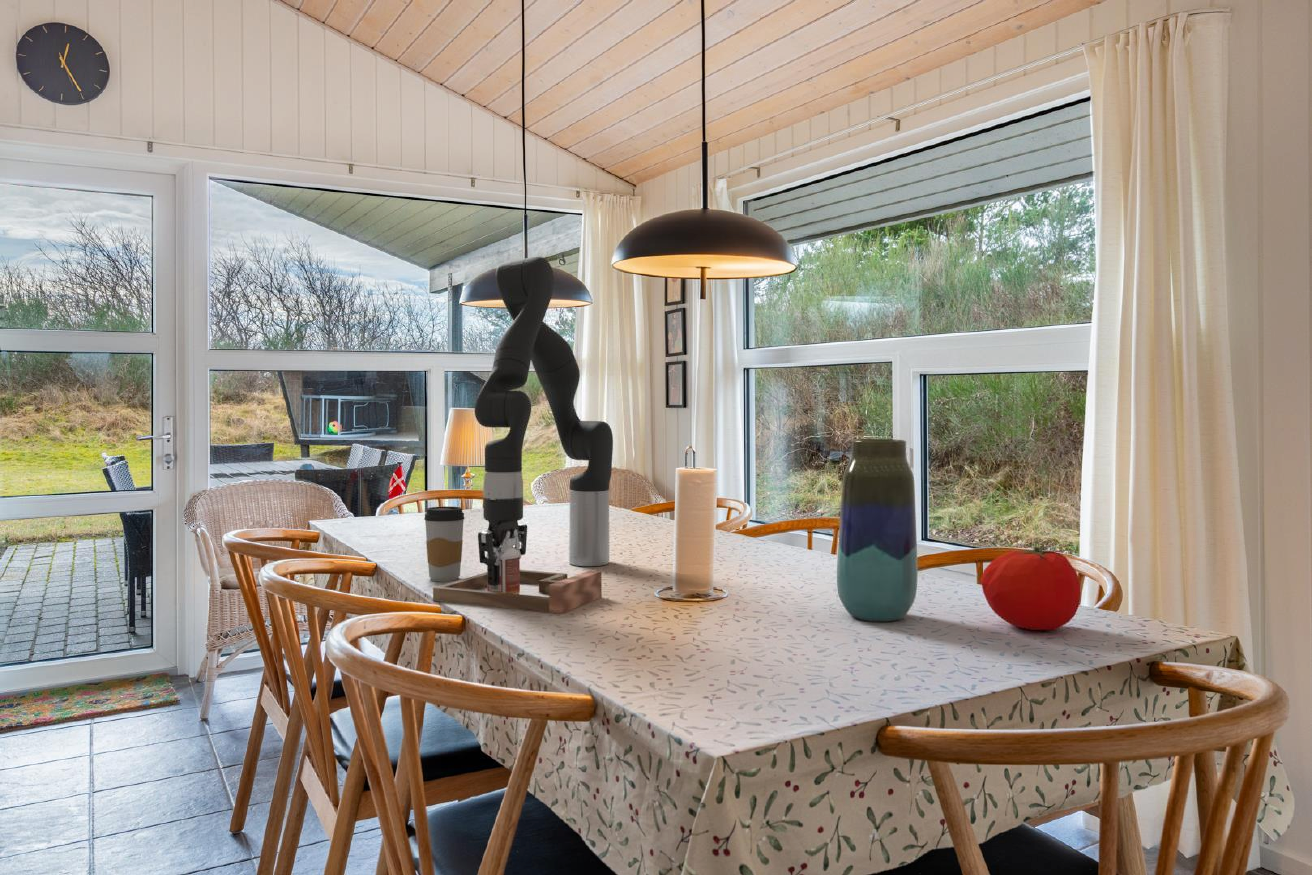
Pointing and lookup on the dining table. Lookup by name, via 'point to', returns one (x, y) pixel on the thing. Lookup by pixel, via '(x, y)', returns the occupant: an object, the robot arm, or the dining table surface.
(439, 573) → the coffee cup
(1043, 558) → the tomato
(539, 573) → the wooden tray frame
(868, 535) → the vase
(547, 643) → the dining table surface
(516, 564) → the pill bottle
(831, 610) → the dining table surface
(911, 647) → the dining table surface
